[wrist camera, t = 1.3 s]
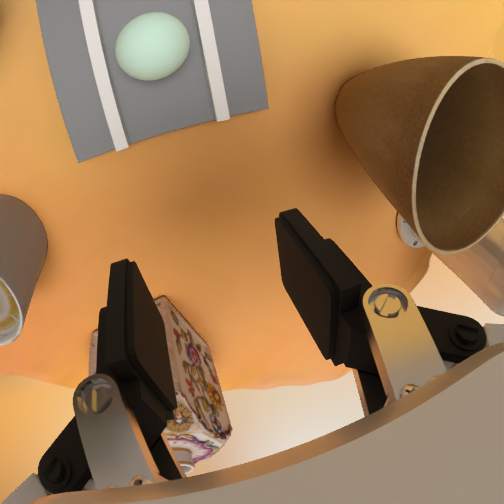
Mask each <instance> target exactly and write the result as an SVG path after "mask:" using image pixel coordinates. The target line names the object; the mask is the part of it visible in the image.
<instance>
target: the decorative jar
mask: <svg viewBox="0 0 504 504" xmlns="http://www.w3.org/2000/svg"><path fill="white" fill-rule="evenodd" d="M154 302H155V304H156V306H157V308H158V310H159V312H160V314H161V316H162V318H163V321H164V324H165V331H166V338H167V345H168V352H169V358H170V365H171V371H172V377H173V383H174V388H175V394H176V399H177V405H178V408H177V409H174V410H173V413H174V418H175V419H173V420H169V421H167V427H166V428H165V430H164V431H163V432H164V434H165V436H166V438H167V440H168V442H169V444H170V446H171V448H172V450H173V452H174V454H175V456H176V458H177V460H178V462H179V463H180V465H181V467H182V469H183V471H184V473H185V474H187V473H190V472H192V471H193V470H194V468H195V465H194V464H195V463H198V462H202V461H205V460H208V459H209V458H211V457H212V456H213V455H214V454H215V453H217V452H218V451H219V450H220V449H221V448H222V447H223V446H224V444H225V443H226V441H227V440H228V439H229V437H230V436H231V431H232V427H231V424H230V420H229V416H228V413H227V409H226V405H225V401H224V398H223V395H222V391H221V387H220V383H219V380H218V376H217V373H216V369H215V366H214V363H213V359H212V356H211V353H210V350H209V347H208V345H207V344H206V343H205V342H204V341H203V339H202V338H201V337H200V336H199V335H198V334H197V333H196V332H195V331H194V329H192V327H191V326H190V325H189V324H188V323H187V322H186V320H185V319H184V318H183V317H182V316H181V315H180V313H179V312H178V311H177V310H176V309H175V308H174V307H173V306H172V304H171V303H170V302H169V301H168V299H167V298H165V297H164V296H163V297H161V298H159V299H157V300H155V301H154ZM97 339H98V330H97V331H95V332H93V334H92V337H91V344H90V355H89V376H91V375H94V374H96V360H97Z"/></svg>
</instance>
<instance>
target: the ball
mask: <svg viewBox="0 0 504 504" xmlns="http://www.w3.org/2000/svg"><path fill="white" fill-rule="evenodd" d="M189 47H190V39H189V34H188V31H187V29H186V27H185V26H184V24H183V23H182V22H181V21H180V20H179V19H177V18H176V17H174V16H172V15H170V14H167V13H162V12H150V13H146V14H143V15H140V16H138V17H136V18H134V19H133V20H131V21H130V22H129V23H127V24H126V25H125V26H124V28H123V29H122V30H121V32H120V34H119V36H118V38H117V41H116V46H115V54H116V59H117V62H118V64H119V66H120V67H121V68H122V70H123V71H124V72H125V73H127V74H128V75H130V76H131V77H133V78H136V79H139V80H145V81H152V80H158V79H162V78H164V77H167V76H169V75H170V74H172V73H173V72H175V71H176V70H177V69H178V68H179V67H180V66H181V65H182V64H183V62H184V61H185V59H186V57H187V55H188V52H189Z"/></svg>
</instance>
